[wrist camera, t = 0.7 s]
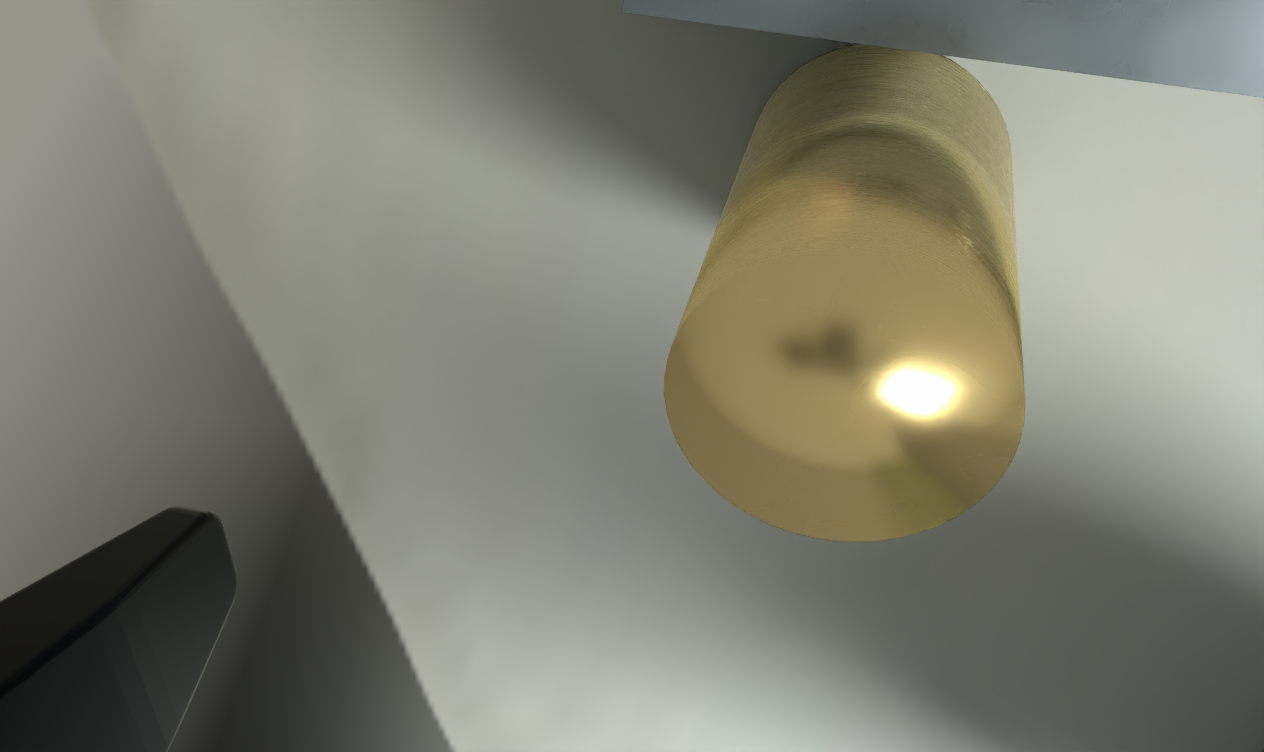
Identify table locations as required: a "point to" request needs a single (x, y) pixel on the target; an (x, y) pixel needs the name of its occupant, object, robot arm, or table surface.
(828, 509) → the cylinder
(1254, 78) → the jig plate
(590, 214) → the table surface
